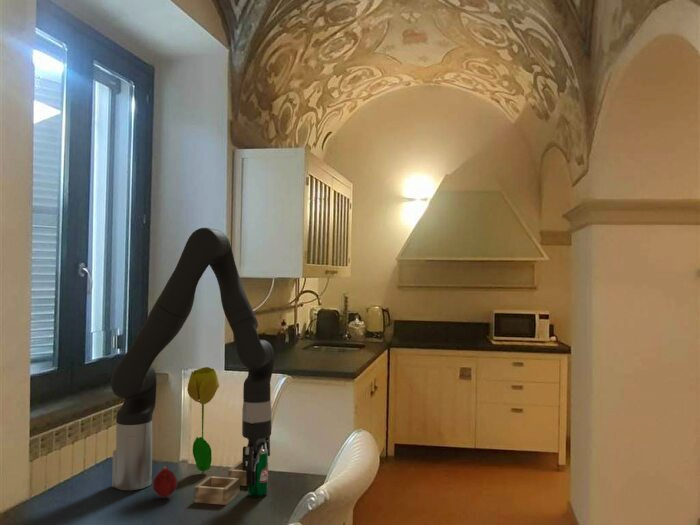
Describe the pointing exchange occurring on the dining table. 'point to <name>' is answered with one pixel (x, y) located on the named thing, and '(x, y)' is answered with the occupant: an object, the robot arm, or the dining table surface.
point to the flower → (204, 390)
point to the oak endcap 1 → (217, 490)
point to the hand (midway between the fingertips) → (256, 480)
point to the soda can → (260, 476)
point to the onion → (165, 483)
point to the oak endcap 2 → (238, 473)
